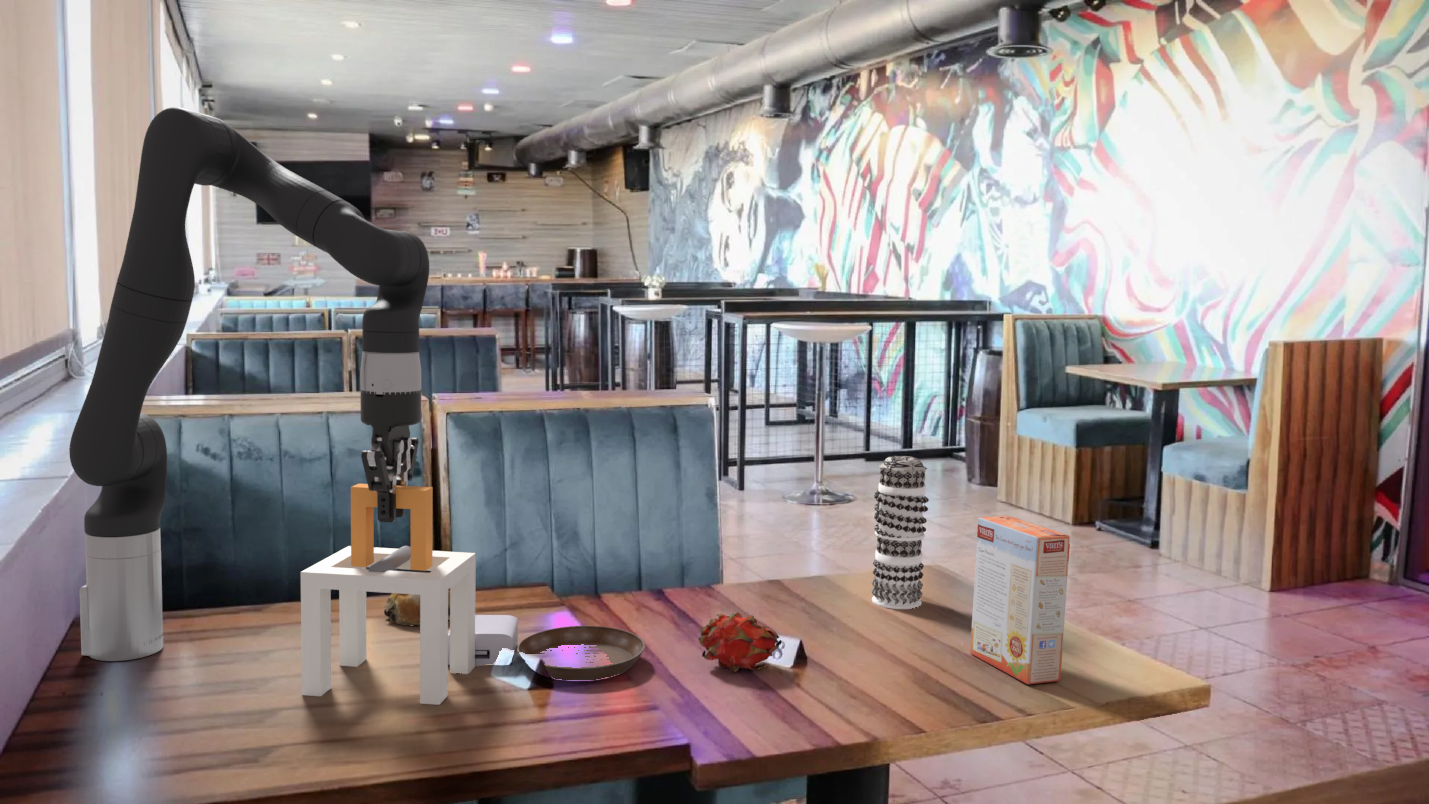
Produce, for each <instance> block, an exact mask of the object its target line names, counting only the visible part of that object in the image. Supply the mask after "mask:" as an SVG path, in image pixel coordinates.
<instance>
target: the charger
mask: <svg viewBox="0 0 1429 804" xmlns="http://www.w3.org/2000/svg"><path fill="white" fill-rule="evenodd" d="M518 642H519V619H518V618H517V617H516V616H514V615H509V614H475V665H486V664H493V663H494V662H495V661H496V659H497V657H498V655H499V651H501V650H502V648H508V649H510V650H515V651H516V650H517V647H518V644H519V643H518ZM449 665H450V628H448V666H449Z"/></svg>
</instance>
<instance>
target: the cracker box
mask: <svg viewBox="0 0 1429 804" xmlns="http://www.w3.org/2000/svg"><path fill="white" fill-rule="evenodd" d="M977 520H978V521H977V532H976V533H977V536H976V537H977V538H976V552H975V567H974V568H975V569H974V582H973V583H974V584H973V587H974V588H973V600H972V613H971V614H972V617H971V618H972V619H971V633H970V649H969V650H970V651H969V653H970V654H971V655H972V656H974V657H976V658H978V659H980V660H981V661H983V662H985V663H987V664H989V665H991V666H993V667H995V668H996V669H998V670H1000V671H1002V672H1004V673H1005V674H1008V675H1009V676H1011V677H1013V678H1015V679H1017V680H1019V681H1021V683H1024V684H1026V685H1034V684H1036V685H1037V684H1045V683H1054V682H1060V681H1061V676H1062V674H1061V673H1062V662H1063V647H1064V646H1063V645H1064V635H1065V634H1064V631H1065V620H1066V618H1065V617H1066V616H1065V615H1066V603H1067V591H1068V589H1067V588H1068V587H1067V586H1068V574H1069V573H1068V572H1069V559H1070V548H1071V547H1070V546H1071V544H1070V543H1071V536H1070V535H1069V534H1065V533H1063V532H1060V531H1056V530H1054V529H1050V528H1047V527H1044V526H1041V525H1037V524H1034V523H1032V522H1029V521H1026V520H1023V519H1020V518H1016V517H1013V516H1010V515H997V516H996V515H994V516H993V515H992V516H981V517H978V519H977Z"/></svg>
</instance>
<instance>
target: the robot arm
mask: <svg viewBox="0 0 1429 804" xmlns="http://www.w3.org/2000/svg"><path fill="white" fill-rule="evenodd" d="M140 155H141V156H140V163H139V169H138V170H139V172H138V176H137V177H138V179H137V186H136V195H135V201H134V209H133V212H132V213H133V214H132V217H131V218H132V219H131V222H130V226H129V230H128V231H129V232H128V237H127V241H126V245H125V251H124V255H123V259H122V263H121V267H120V269H119V273H118V277H117V279H116V283H115V288H114V291H113V292H114V293H113V296H112V300H111V304H110V308H109V313H108V318H107V323H106V326H105V331H104V335H103V339H102V342H101V346H100V350H99V354H98V357H97V361H96V366H95V370H94V374H93V375H92V380H91V382H90V384H89V388H88V391H87V394H86V396H85V398H84V401H83V404H82V407H81V410H80V412H79V414H78V418H77V420H76V423H75V426H74V427H73V430H72V435H71V437H70V442H69V448H68V449H69V460H70V464H71V467H72V469H73V471H74V473H75V474H76V476H77V478H79V479H80V480H81V481H83V482H84V483H86V484H88V485H91V486H95V487H101V490H100V493H99V495H98V497H97V499H96V500H95V502H94V503H93V504H92V505H91V506H90V507H89V508H88V509H87V510H86V512H85V514H84V517H83V519H84V520H83V521H84V523H83V525H84V528H83V530H84V549H85V550H84V551H85V581H86V582H85V583H86V584H84V585H83V586H80V588H79V618H80V643H81V645H80V650H81V655H82V656H88V657H89V658H91V659H93V660H96V661H102V662H121V661H123V662H124V661H131V660H135V659H141V658H144V657H145V658H146V657H149V656H151V655H155V654H156V653H158V652H160V651H161V650H162V649H163V647H164V632H163V631H164V630H163V628H164V627H163V620H164V619H163V589H162V588H163V585H162V582H163V581H162V578H163V577H162V547H161V544H162V543H161V540H162V538H161V516H162V513H163V511H164V509H165V505H166V500H167V481H168V480H167V478H168V477H167V476H168V475H167V474H168V449H167V442H166V437H165V434H164V432H163V430H162V428H161V426H160V425H159V423H158V422H157V420H155V419H154V418H152V417H151V416H150V415H148V414H146V413H143V412H142V409H143V405H144V401H145V399H146V395H147V393H148V391H149V389H150V387H151V386H152V383H153V381H154V380H155V378H156V377H157V375H158V374H159V372H160V371H161V369H162V368H163V367H164V365H165V363H167V361H168V359H169V358H170V356H171V355H172V354H173V352H174V350H175V348H176V347H177V345H178V343H179V342H180V340H181V338H182V336H183V334H184V331H185V328H186V325H187V322H188V318H189V314H190V310H191V307H192V303H193V298H194V294H195V288H196V287H195V286H196V280H195V279H196V278H195V270H194V267H193V260H192V257H191V252H190V247H189V244H188V239H187V234H186V233H187V231H186V229H187V228H186V219H187V212H188V207H189V205H190V200H191V195H192V192H193V189H194V186H195V185H199V186H213V187H216V188H219V189H222V190H225V191H228V192H231V193H233V194H236V195H238V196H242V197H243V198H245V199H247V200H250V201H251V202H253V203H255V204H257V205H258V206H259V207H260V208H262V209H263V210H264V211H265V212H266V213H267V214H268V215H270V216H271V217H272V218H273V220H275V221H276V222H277V223H278V224H279V225H280V226H281V227H283V228H284V229H285V230H286V231H288V232H290V233H291V234H293V235H294V236H296V237H297V238H300V239H302V240H303V241H304V242H307V244H308V243H309V244H310V245H312V246H313V247H316V248H317V249H318V250H321V251H323V252H325V253H327V254H328V255H329V256H330V257H331V258H332V259H333V260H334V261H335V262H336V263H338V264H339V265H340V266H341V267H343V269H345V270H346V271H347V272H348V273H350V274H351V275H353V276H354V277H356V278H357V279H360V280H362V281H364V282H366V283H368V284H371V285H374V286H378V292H377V297H376V301H375V303H374V304H372V305H371V306H369V307H367V308H366V309H365V310H364V312H363V314H362V323H361V324H362V325H361V329H362V332H361V333H362V337H361V338H362V339H361V340H362V352H361V364H360V373H359V374H360V375H359V379H360V422H361V423H362V424H364V425H365V426H371V427H372V433H371V439H370V440H371V441H370V449H369V450H362V451H361V456H360V457H361V462H362V466H363V470H364V474H365V478H366V484H368V488H369V490H370V491H375V493H377V507H376V508H377V511H376V512H377V517H376V518H377V520H378V521H379V523H380V522H381V523H393V522H395V521H396V519H397V518H402V517H404V516H405V514H406V509H399V508H396V493H395V492H396V485H399V486H409V485H408V484H409V482H410V481H413V478H414V473H415V472H414V471H415V466H416V460H417V454H418V449H419V442H420V441H419V438H418V437H411V430H410V426H413V425H414V426H415V425H417V424H419V423H420V422H421V421H422V366H421V358H420V322H419V321H420V317H421V313H422V308H423V305H424V303H425V302H424V300H425V296H426V293H427V292H426V291H427V287H428V282H429V276H430V259H429V254H428V251H427V248H426V247H427V246H426V245H425V243H424V242H423V241H422V239H420V237H419V236H417V235H416V234H415V233H412V232H409V231H404V230H393V229H385V228H382V227H380V226H377V225H375V224H373V223H371V222H369V221H368V220H366V219H365V217H364V215H363V212H361V211H360V209H358V208H357V207H356V206H354V205H353V204H351V203H350V202H348V201H346V200H345V199H343V198H341V197H339V196H338V195H336V194H333V193H332V192H331V191H328V190H326V189H325V188H323V187H321V186H319V185H317V184H316V183H314V182H311V181H310V180H308V179H307V178H304V177H302V176H300V175H299V174H297V173H295V172H293V171H292V170H289V169H288V168H286V167H285V166H283V165H281V164H280V163H279V162H277V161H275V160H274V159H272V158H271V157H270V156H269V155H267V154H266V153H264V152H263V151H262V150H260V148H258V147H257V146H256V145H254V144H253V143H252V142H251V141H250V140H249V139H247V138H246V137H245V136H244V135H242V134H241V133H240V132H238V131H237V130H236V129H235V128H234V127H232V125H230V124H229V123H227V122H226V121H224V120H222V119H220V118H218V117H216V116H212V115H209V114H205V113H202V112H198V111H194V110H190V109H187V108H183V107H178V106H177V107H176V106H173V107H172V106H171V107H167V108H165V109H162V110H161V111H160V112H158V113H157V114H156V115H155V116H154V118H152V120H151V122H150V123H149V125H148V127H147V129H146V132H145V135H144V139H143V143H142V149H141V154H140ZM408 481H409V482H408Z"/></svg>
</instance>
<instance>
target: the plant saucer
mask: <svg viewBox="0 0 1429 804" xmlns="http://www.w3.org/2000/svg"><path fill="white" fill-rule="evenodd" d="M581 644H584V645H597V646H595V647H591V646H589V648H599V649H598V650H594V649H593V650H586V651H604V653H605V654H607V656H606V657H609V659H607V660H610V662H611V663H613V664H609V665H604V666H596V667H581V668H572V667H557V666H550V665H545V664H544V665H545V667H546V670H547V671H548V672H549V674H550V675H551V676H552V677H553V678H555V679H562V680H596V679H601V678H605V677H611V676H614V675H617V674H620V675H622V674H624V673H625V672H627V671H628V670H629V669H631V668H632V667H633V666H634V664H635V663H636V662H637V661H639V660H638V659H640V657H641V656H642V654H643V653H644V650H645V647H646V645H645V641H644V640H643V638H641V636H638V634H635V633H633V632H630V631H628V630H623V629H621V628H615V627H609V626H600V625H573V626H572V625H571V626H569V625H568V626H560V627H555V628H551V629H545V630H541V631H539V632H535V633H532V634H531V635H528V636H527V637H525V638H523V639H522V640H521V641H520V642H519V643H518V644H517V646H516V650H517V653H518V652H523V653H525V654H545V653H540V652H542V651H547V650H546V649H549V648H558V646H561V645H581ZM568 648H569V647H568ZM574 648H575V647H574ZM584 648H586V647H584ZM550 651H552V650H550ZM562 651H563V650H562ZM578 651H579V650H578ZM584 651H585V650H584ZM604 653H603V654H604ZM576 654H578V653H576ZM585 654H590V653H585ZM593 654H599V653H595V652H594V653H593ZM585 657H590V656H585ZM594 657H596V656H595V655H594ZM587 660H588V659H587ZM593 660H594V659H593ZM601 660H602V659H601ZM586 663H587V662H586ZM589 663H594V662H589ZM621 673H622V674H621Z"/></svg>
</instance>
